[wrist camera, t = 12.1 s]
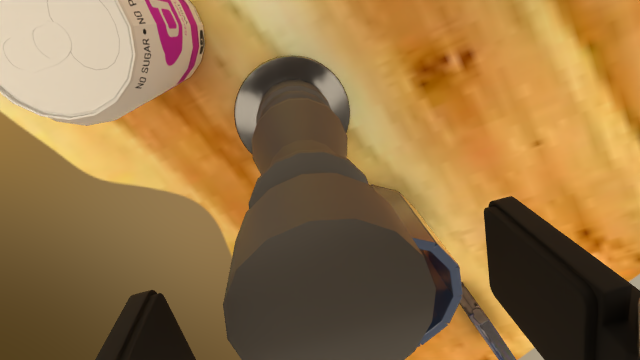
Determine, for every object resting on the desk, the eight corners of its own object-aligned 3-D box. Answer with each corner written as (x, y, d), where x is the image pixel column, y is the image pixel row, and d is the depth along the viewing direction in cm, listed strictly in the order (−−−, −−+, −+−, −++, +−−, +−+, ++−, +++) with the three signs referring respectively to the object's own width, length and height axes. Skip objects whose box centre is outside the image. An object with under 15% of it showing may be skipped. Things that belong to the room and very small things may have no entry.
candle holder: (253, 144, 34) (202, 394, 11) (262, 73, 32) (225, 192, 9) (322, 154, 35) (411, 402, 12) (335, 85, 33) (476, 223, 10)
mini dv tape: (449, 288, 43) (475, 327, 38) (461, 281, 43) (489, 319, 37) (481, 333, 46) (509, 374, 40) (492, 326, 46) (521, 367, 40)
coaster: (218, 72, 32) (217, 73, 31) (334, 42, 32) (336, 42, 32) (254, 179, 36) (254, 182, 35) (358, 152, 36) (360, 154, 35)
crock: (300, 202, 37) (308, 260, 28) (410, 173, 37) (454, 221, 28) (326, 292, 41) (341, 367, 32) (425, 265, 42) (467, 333, 32)
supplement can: (175, -40, 29) (82, -103, 15) (223, 67, 32) (181, 97, 18) (77, -1, 29) (-105, -27, 15) (133, 102, 32) (24, 157, 18)
